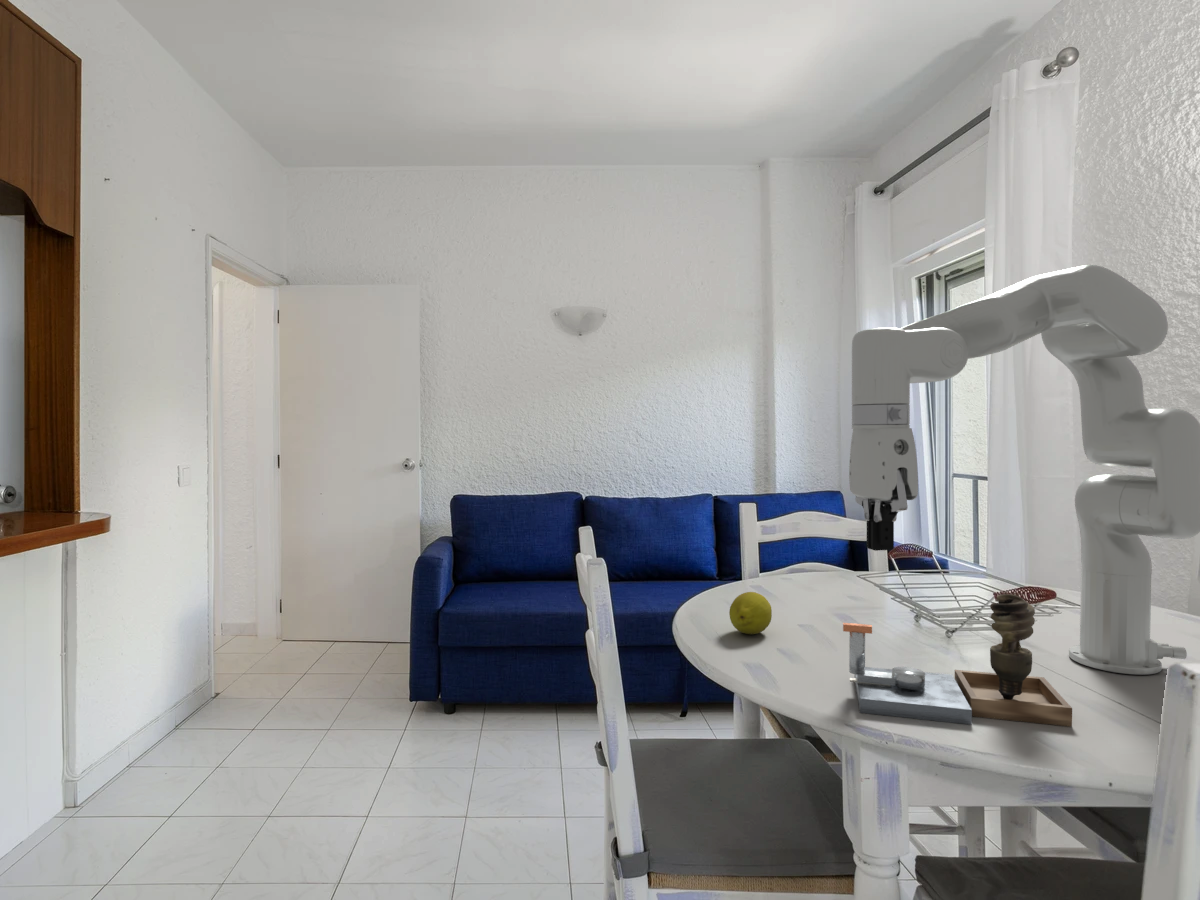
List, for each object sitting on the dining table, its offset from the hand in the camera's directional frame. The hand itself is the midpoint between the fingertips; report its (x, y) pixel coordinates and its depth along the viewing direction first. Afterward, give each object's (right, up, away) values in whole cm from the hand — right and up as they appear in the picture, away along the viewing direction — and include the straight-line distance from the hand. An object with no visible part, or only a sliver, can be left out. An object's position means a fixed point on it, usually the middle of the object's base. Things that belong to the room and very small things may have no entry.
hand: (880, 548), depth 99 cm
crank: (+2, -20, +5) cm, 21 cm away
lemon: (-10, -22, +37) cm, 44 cm away
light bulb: (+19, -22, +2) cm, 29 cm away
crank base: (+6, -23, +4) cm, 24 cm away
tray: (+19, -23, +2) cm, 30 cm away
